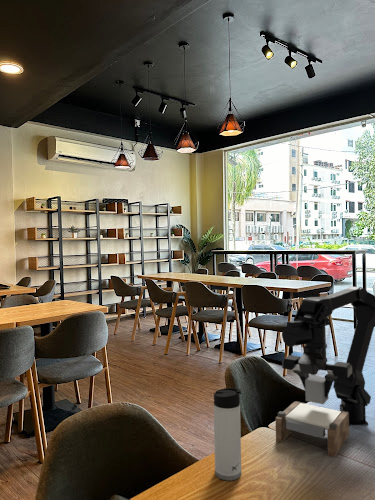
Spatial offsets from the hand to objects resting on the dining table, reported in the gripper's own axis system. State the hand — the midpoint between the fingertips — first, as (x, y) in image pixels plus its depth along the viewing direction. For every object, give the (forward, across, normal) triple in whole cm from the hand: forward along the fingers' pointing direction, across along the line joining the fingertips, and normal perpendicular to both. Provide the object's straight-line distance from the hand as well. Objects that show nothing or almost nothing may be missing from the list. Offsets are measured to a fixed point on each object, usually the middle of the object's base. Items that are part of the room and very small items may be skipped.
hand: (316, 395), depth 116 cm
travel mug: (+11, -11, -33) cm, 36 cm away
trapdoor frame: (+11, 0, -4) cm, 12 cm away
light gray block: (+1, 0, 0) cm, 1 cm away
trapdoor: (+7, 0, -4) cm, 8 cm away
